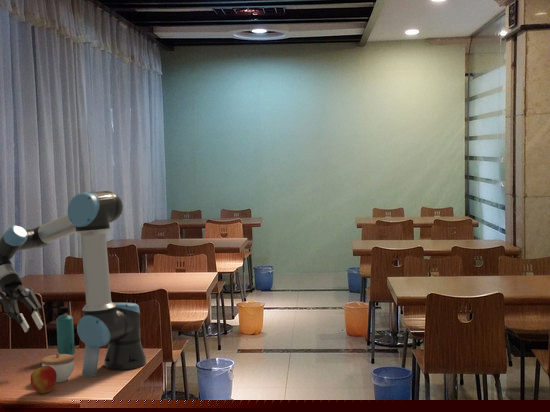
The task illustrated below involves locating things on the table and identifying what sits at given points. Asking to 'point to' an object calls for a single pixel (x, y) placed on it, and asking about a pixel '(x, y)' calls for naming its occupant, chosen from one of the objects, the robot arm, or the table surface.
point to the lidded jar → (60, 365)
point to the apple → (43, 379)
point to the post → (90, 361)
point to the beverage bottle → (65, 332)
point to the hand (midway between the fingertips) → (34, 328)
